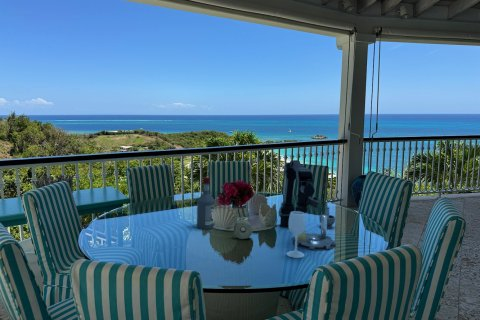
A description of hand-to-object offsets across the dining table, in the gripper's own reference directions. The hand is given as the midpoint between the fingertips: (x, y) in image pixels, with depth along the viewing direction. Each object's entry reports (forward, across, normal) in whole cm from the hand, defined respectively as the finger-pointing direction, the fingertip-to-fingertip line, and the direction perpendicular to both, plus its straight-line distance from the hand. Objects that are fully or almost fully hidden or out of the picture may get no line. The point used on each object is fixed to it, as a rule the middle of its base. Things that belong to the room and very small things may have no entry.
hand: (301, 221), depth 200 cm
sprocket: (+12, +2, -7) cm, 14 cm away
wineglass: (+12, -18, +1) cm, 22 cm away
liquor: (+12, +13, +57) cm, 60 cm away
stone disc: (+12, -1, +31) cm, 34 cm away
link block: (+9, 0, 0) cm, 9 cm away
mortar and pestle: (+12, +38, -14) cm, 42 cm away
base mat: (+12, +2, -7) cm, 14 cm away
